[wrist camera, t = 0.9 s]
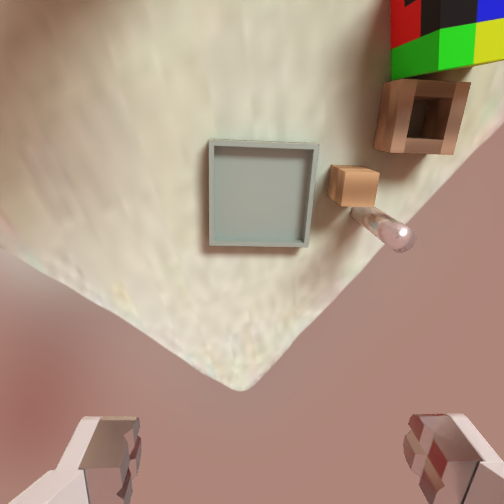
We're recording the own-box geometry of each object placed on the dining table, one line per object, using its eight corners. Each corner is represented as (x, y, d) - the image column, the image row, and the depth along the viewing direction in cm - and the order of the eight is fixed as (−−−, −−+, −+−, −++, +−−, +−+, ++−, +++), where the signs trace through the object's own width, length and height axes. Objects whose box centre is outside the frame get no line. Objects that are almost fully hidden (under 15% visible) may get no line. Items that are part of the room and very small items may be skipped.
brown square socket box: (383, 83, 41) (403, 78, 37) (444, 86, 42) (471, 82, 37) (372, 148, 44) (390, 152, 39) (429, 151, 45) (453, 154, 40)
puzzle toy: (479, -36, 38) (562, -86, 28) (472, 66, 41) (543, 51, 32) (390, -20, 38) (443, -65, 28) (390, 80, 41) (438, 70, 32)
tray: (209, 138, 42) (208, 140, 40) (315, 143, 43) (319, 144, 41) (210, 240, 47) (209, 245, 45) (304, 241, 48) (308, 247, 46)
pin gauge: (352, 200, 46) (392, 227, 35) (373, 201, 47) (418, 227, 35) (349, 220, 47) (387, 252, 36) (369, 221, 48) (412, 252, 36)
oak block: (330, 164, 44) (345, 171, 39) (360, 165, 45) (379, 172, 39) (327, 195, 46) (340, 206, 40) (356, 196, 46) (373, 207, 41)
